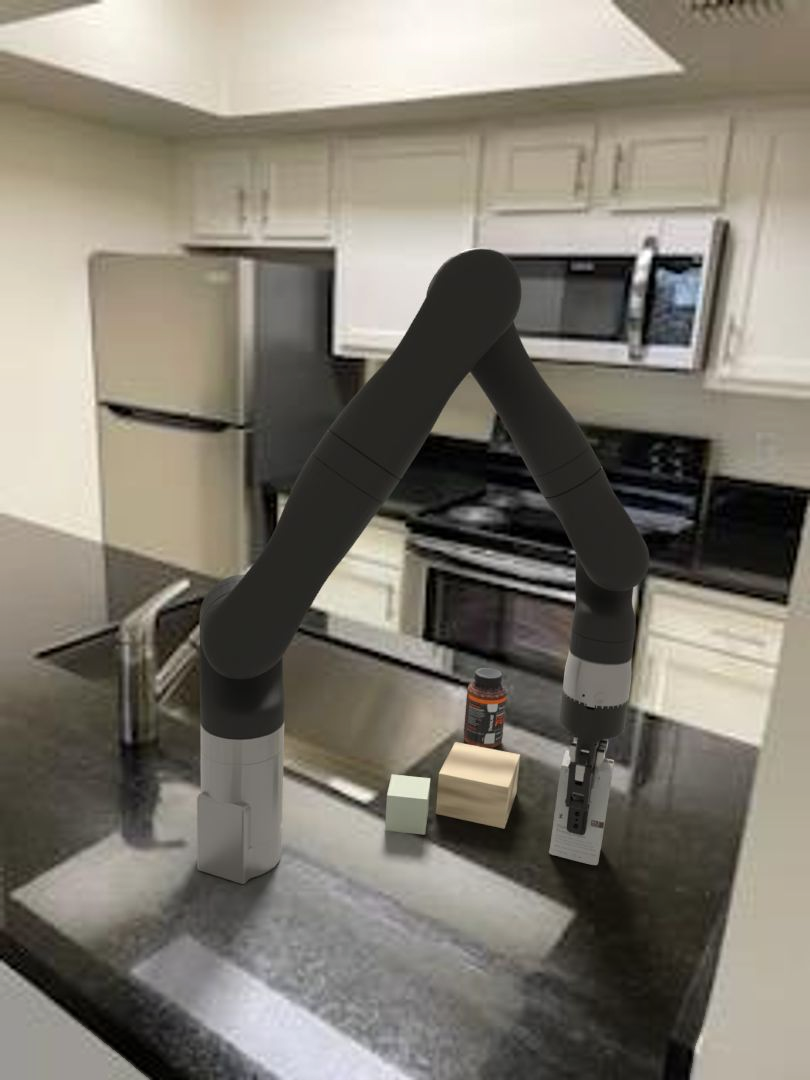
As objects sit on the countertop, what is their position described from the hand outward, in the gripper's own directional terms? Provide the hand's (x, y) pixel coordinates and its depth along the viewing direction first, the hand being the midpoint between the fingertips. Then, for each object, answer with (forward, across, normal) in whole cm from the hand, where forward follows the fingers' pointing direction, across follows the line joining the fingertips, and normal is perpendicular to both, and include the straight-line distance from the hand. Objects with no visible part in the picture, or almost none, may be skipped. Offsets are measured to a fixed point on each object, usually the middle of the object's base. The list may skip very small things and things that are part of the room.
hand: (580, 817), depth 101 cm
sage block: (+5, +3, -21) cm, 22 cm away
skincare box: (+5, 0, 0) cm, 5 cm away
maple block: (+5, -5, -14) cm, 16 cm away
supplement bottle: (+5, -22, -18) cm, 29 cm away
